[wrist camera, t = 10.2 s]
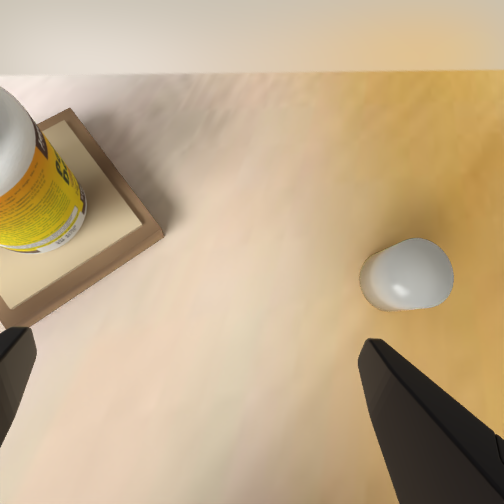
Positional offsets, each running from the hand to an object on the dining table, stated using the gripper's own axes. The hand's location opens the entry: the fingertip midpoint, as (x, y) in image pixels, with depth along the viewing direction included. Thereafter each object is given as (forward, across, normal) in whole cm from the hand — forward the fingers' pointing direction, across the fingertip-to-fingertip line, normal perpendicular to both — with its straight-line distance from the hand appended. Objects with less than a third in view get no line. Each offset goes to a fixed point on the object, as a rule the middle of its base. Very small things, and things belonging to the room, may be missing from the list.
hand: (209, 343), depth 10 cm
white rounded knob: (+13, -13, +6) cm, 20 cm away
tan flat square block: (+15, +10, +4) cm, 18 cm away
